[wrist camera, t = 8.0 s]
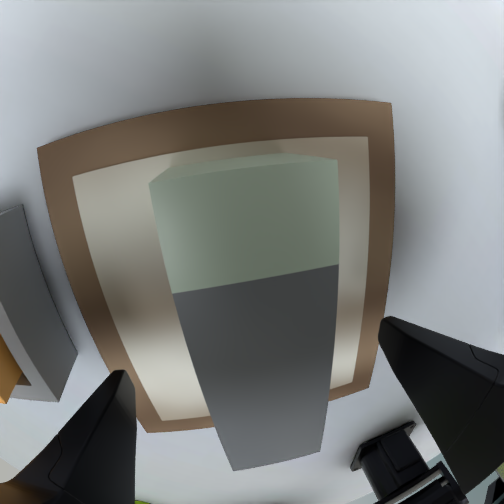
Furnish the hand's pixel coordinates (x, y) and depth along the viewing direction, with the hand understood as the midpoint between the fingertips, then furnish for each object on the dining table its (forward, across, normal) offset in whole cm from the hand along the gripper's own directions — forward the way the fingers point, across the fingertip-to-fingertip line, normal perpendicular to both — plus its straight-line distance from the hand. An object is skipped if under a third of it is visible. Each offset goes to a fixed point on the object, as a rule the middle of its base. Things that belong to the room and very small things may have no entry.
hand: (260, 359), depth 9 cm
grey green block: (+3, 0, 0) cm, 3 cm away
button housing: (+4, +13, -2) cm, 14 cm away
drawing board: (+4, 0, 0) cm, 4 cm away
